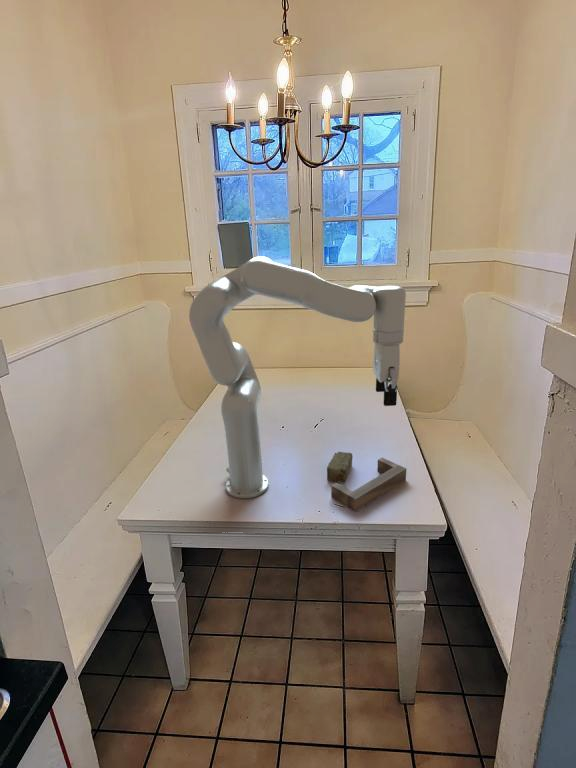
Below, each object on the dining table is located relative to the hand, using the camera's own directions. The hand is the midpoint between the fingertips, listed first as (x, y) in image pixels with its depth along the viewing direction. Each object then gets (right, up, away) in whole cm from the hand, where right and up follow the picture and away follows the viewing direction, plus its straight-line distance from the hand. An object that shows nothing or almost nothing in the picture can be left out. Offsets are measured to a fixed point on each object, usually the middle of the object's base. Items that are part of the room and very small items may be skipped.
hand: (385, 398), depth 121 cm
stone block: (-10, -24, +18) cm, 32 cm away
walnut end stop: (-3, -26, +9) cm, 28 cm away
